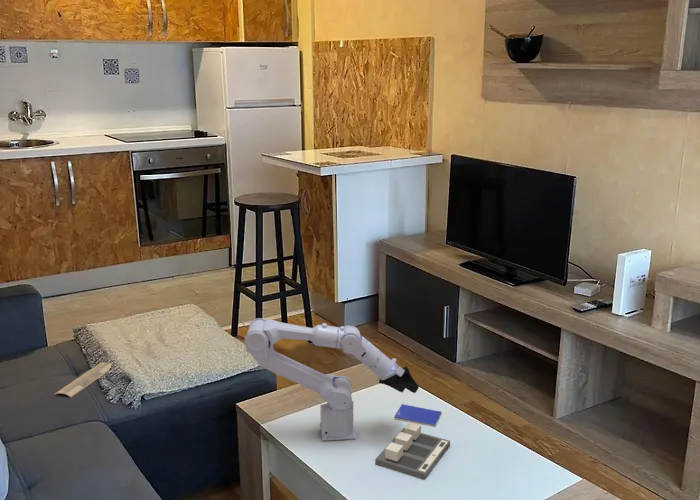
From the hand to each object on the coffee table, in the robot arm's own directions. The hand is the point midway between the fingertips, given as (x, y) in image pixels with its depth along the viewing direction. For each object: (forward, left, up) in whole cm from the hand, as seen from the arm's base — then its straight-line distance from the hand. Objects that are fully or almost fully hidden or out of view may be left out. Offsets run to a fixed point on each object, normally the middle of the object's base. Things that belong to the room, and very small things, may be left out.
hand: (410, 389), depth 190 cm
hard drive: (+5, +9, -14) cm, 17 cm away
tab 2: (-3, -9, -12) cm, 15 cm away
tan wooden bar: (-99, +43, -14) cm, 109 cm away
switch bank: (-1, -11, -14) cm, 18 cm away
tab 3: (0, -4, -12) cm, 13 cm away
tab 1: (-7, -14, -12) cm, 20 cm away
